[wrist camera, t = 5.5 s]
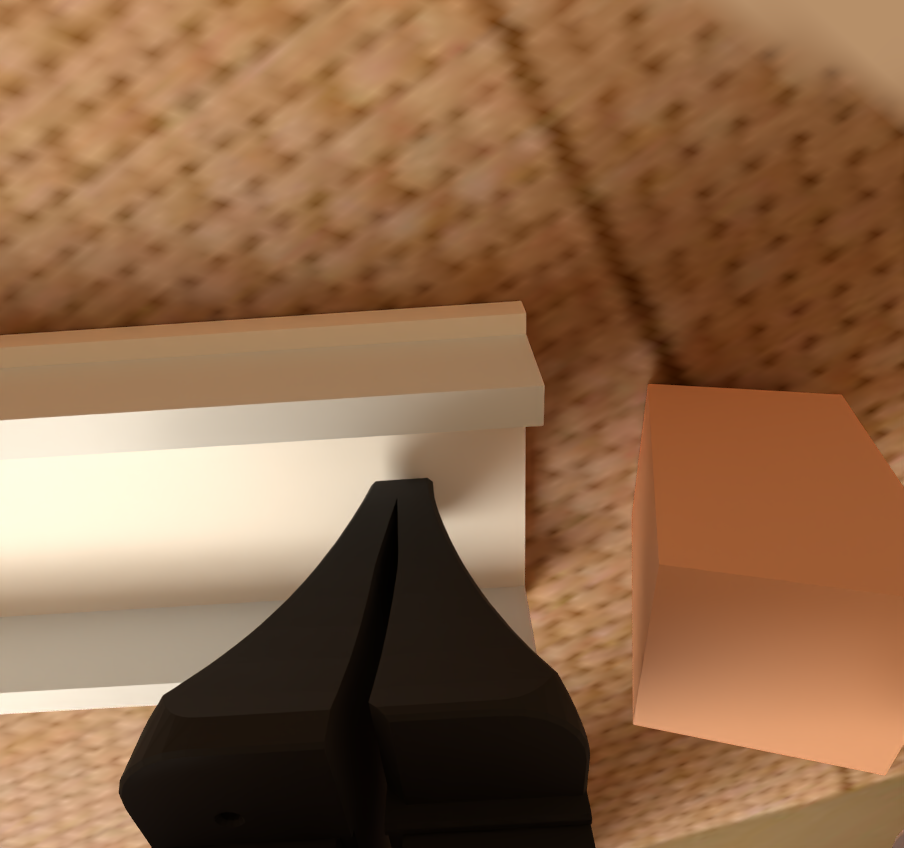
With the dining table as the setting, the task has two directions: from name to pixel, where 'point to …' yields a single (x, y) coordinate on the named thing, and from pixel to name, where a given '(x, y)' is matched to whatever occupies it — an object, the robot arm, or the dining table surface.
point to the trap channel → (237, 479)
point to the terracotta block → (768, 576)
